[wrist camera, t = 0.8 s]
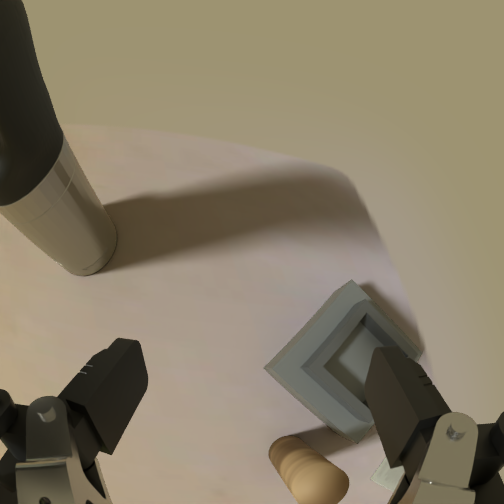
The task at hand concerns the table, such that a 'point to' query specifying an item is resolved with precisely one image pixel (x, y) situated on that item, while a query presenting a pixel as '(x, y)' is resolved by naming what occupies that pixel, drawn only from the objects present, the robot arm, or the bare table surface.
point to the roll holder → (338, 359)
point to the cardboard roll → (307, 472)
